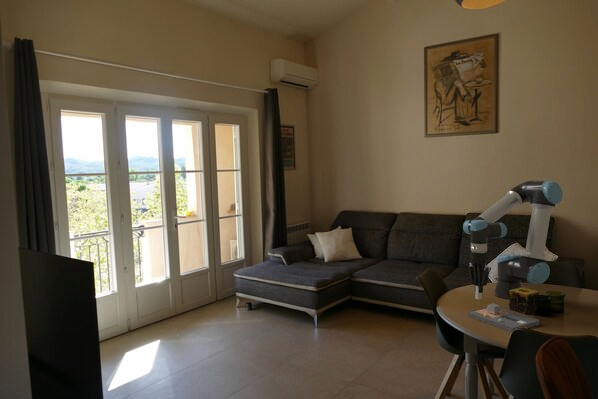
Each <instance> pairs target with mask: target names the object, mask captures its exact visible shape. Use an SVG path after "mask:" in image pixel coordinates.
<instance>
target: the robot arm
mask: <svg viewBox="0 0 598 399" xmlns="http://www.w3.org/2000/svg"><path fill="white" fill-rule="evenodd" d="M563 195H564V194H563V190H562V187H561V185H560V184H559V183H558V182H556V181H553V180H528V181H527V180H526V181H524V182H521V183H518V184H517V185H516V186H514V187H513V188H511V189H509V190H508V191H507V192H506V194H505V195H504V196H503V197H501V199H499V200H498V201H497V202H495V203H494V204H493V205H491V206H490V207H489V208H488V209H486V210H485V211H483V212H482V213H481V214H480V215H478V216H477V217H475V218H474V219H470V220H469V219H468V220H465V221H464V222H463V224H462V230H463V232H464V233H465V234H468V235H470V262H469V263H467V264H466V266H467V269H468V273H469V280H470V283H471V284H473V285H474V292H475V296H474V297H475V300H482V298H483V292H484V287H485V286H488V280H489V276H490V272H491V271H492V267H491V266H490V267H489V266H488V264H487V259H488V240H489V239H500V238H503V237H505V236H506V235H507V234H508V228H507V226H506V224H504V223H503V222H497V221H499V219H501V218H502V217H503V216H505V215H506V214H507V213H508V212H510V211H512V210H513V209H514V208H515V207H519V206H521V205H522V204H525V203H529V206H530V207H531V208H532V210H531V216H530V221H529V225H528V226H529V227H528V231H527V232H528V234H527V238H526V244H525V251H524V253H522V254H517V253H513V254H512V253H509V254H508V253H507V254H500V255H498V257H497V263H496V264H497V281H496V282H497V283H496V286H495V288H494V296H495V297H497V298H499V299H504V300H510V293H509V290H513V289H517V288H521V287H522V288H524V287H523V284H522V281H523V282H526V283H529V284H532V285H533V284H534V285H541V284H543V283H545V282H546V281H547V280H548V278H549V276H550V273H551V269H550V266H549V264H547V258H545V256H544V255H545V248H546V244H547V238H548V232H549V231H548V230H549V225H550V219H551V212H552V211H553V210H554V209H555V208H556V205H558V204H560V203H561V201H562V199H563Z"/></svg>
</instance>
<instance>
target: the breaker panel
mask: <svg viewBox="0 0 598 399" xmlns="http://www.w3.org/2000/svg"><path fill="white" fill-rule="evenodd" d="M468 317H469V318H471V319H474V320H477V321H480V322H483V323H485V324H489V325H491V326H494V327H496V328H499V329H502V330H504V331H505V330H506V331H507V332H510V333H513V332H512V331H513V330H515V329H516V328H519V327H527V329H530V328H533V327H538V326H539V325H541V322H540V321H541V320H540V319H537V318H533V317H530V316H527V315H525V314H524V315H523V314H522V313H521V314H520V313H519V312H515V311H512V310H511V311H510V310H507V309H504V308H501V307H500V313H498V314H492V313H489V312H487V307H485V308H482V309H478V310H475V311H474V310H473V311H469V312H468Z"/></svg>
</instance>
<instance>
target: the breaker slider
mask: <svg viewBox="0 0 598 399" xmlns="http://www.w3.org/2000/svg"><path fill="white" fill-rule="evenodd" d="M486 306H487V307H486V308H487V312H489V313H492V314H498V313H500V308H501V305H500V304H497V303H488V304H487V305H486Z"/></svg>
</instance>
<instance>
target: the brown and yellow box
mask: <svg viewBox="0 0 598 399" xmlns="http://www.w3.org/2000/svg"><path fill="white" fill-rule="evenodd" d="M522 287H523V286H522ZM522 287H521V288H517V289H513V290H509V293H510V299H509V303H508V306H509V307H508V309H509V311H510V310H511V311H512V312H515V313H521V314H524V315H530V314H534V297H535V296H537V295H539V296H540V291H539V290H534V289H530V288H526V287H523V288H522Z"/></svg>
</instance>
